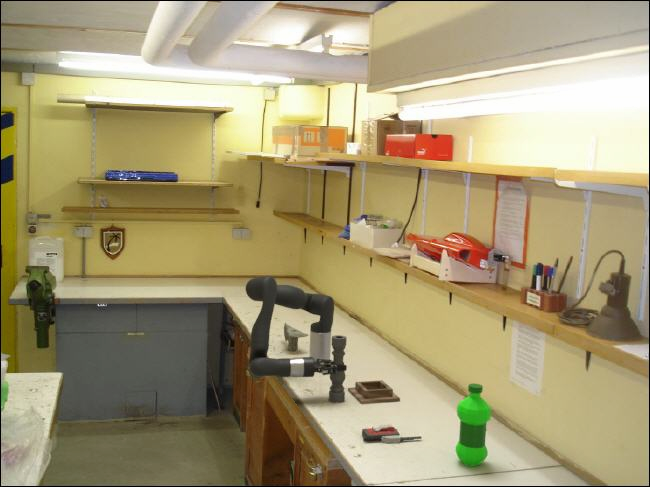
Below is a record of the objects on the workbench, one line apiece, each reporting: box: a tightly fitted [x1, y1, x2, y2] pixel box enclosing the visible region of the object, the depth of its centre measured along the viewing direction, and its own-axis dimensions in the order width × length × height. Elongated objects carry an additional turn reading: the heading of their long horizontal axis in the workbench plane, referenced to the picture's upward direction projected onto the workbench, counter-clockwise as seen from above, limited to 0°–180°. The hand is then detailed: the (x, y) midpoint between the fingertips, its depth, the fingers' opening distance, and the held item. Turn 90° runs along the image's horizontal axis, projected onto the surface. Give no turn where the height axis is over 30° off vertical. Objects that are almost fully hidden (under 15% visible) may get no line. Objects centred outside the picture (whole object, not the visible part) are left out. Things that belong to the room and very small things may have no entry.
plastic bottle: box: [455, 383, 492, 467], centre depth 228 cm, size 10×10×25 cm
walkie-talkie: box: [361, 424, 423, 444], centre depth 247 cm, size 9×4×20 cm
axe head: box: [283, 322, 309, 352], centre depth 355 cm, size 27×10×10 cm, turn 20°
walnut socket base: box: [347, 379, 401, 405], centre depth 290 cm, size 16×16×4 cm
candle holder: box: [328, 334, 347, 404], centre depth 282 cm, size 6×6×25 cm
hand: (344, 366), depth 282 cm, fingers closed on candle holder, 3 cm apart
